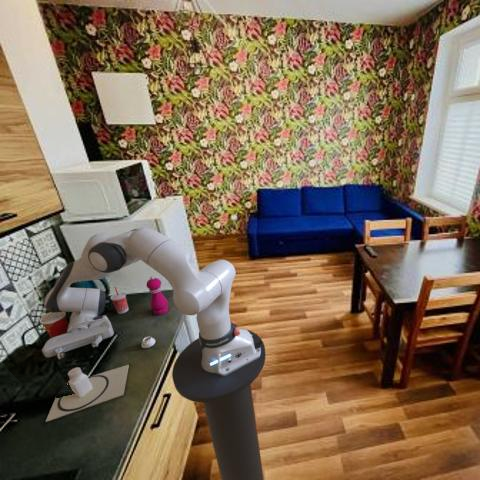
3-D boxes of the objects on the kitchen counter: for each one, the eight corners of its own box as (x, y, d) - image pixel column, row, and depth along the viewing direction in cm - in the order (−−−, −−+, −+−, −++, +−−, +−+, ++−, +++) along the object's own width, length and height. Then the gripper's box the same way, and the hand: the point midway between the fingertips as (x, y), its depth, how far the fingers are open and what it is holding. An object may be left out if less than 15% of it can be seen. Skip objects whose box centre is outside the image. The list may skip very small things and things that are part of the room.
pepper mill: (158, 317, 128) (148, 281, 120) (150, 312, 131) (139, 277, 124) (172, 309, 134) (163, 275, 126) (164, 305, 137) (155, 271, 129)
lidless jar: (153, 338, 115) (140, 344, 112) (152, 332, 114) (138, 338, 111) (157, 344, 112) (143, 350, 109) (155, 339, 111) (141, 345, 108)
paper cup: (56, 339, 115) (43, 312, 109) (78, 333, 118) (67, 307, 113) (49, 351, 108) (35, 323, 103) (73, 344, 112) (61, 318, 106)
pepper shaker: (86, 384, 93) (77, 364, 90) (93, 388, 92) (84, 368, 88) (73, 394, 90) (63, 374, 86) (80, 398, 89) (70, 378, 85)
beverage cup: (121, 306, 136) (113, 283, 130) (133, 307, 135) (125, 283, 130) (112, 314, 130) (103, 290, 125) (124, 314, 130) (116, 290, 124)
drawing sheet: (129, 365, 102) (128, 364, 102) (123, 395, 90) (123, 393, 90) (61, 386, 93) (60, 385, 93) (45, 422, 82) (45, 421, 82)
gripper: (43, 333, 100) (34, 357, 89) (110, 313, 110) (110, 332, 100) (49, 346, 102) (42, 371, 91) (115, 325, 113) (115, 345, 102)
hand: (78, 351), depth 96 cm, fingers open, 8 cm apart
